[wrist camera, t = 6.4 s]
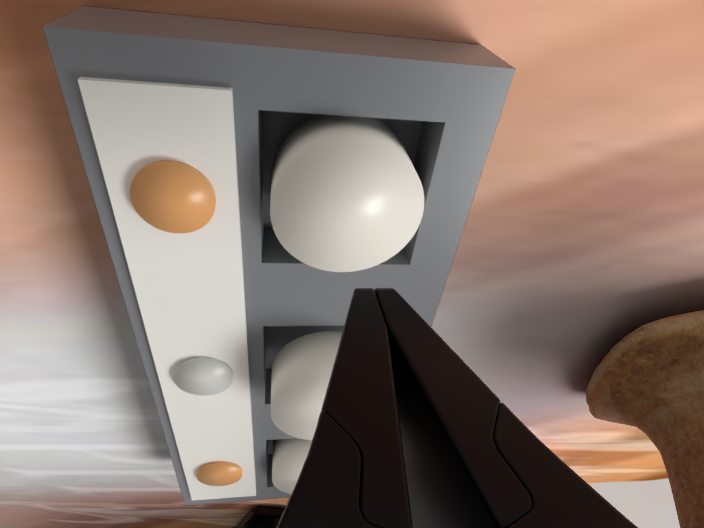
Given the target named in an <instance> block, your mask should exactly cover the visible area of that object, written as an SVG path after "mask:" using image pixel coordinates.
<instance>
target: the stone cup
mask: <svg viewBox="0 0 704 528" xmlns="http://www.w3.org/2000/svg"><path fill="white" fill-rule="evenodd" d="M586 401H587V403H588V405H589V411H590V412H591V414H592V415H593V416H594V417H595V418H597V419H601V420H605V421H609V422H615V423H620V424H626V425H631V426H635V427H637V428H639V429H640V430H642V431H643V432H644V433H646V435H647V436H648V437H649V438H650V440H651V441H652V442H653V443H654V445H655V446H656V447H657V449H658V450H659V451H660V453H661V456H662V459H663V462H664V465H665V468H666V471H667V474H668V478H669V481H670V485H671V489H672V493H673V498H674V502H675V506H676V510H677V515H678V519H679V524H680V527H681V528H704V310H701V311H695V312H690V313H685V314H680V315H675V316H670V317H666V318H663V319H659V320H656V321H653V322H650V323H647V324H644V325H642V326H641V327H639V328H637V329H636V330H634V331H633V332H631V333H629V334H628V335H626V336H625V337H624V338H623V339H622V340H620V341H619V342H618V343H617V344H616V345H614V346H613V348H612V349H611V350H610V351H609V352H608V354H607V355H606V356H605V357H604V358H603V359H602V361H601V362H600V364H599V365H598V366H597V368H596V369H595V371H594V373H593V375H592V377H591V379H590V382H589V384H588V387H587V392H586Z"/></svg>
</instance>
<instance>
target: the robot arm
mask: <svg viewBox="0 0 704 528" xmlns="http://www.w3.org/2000/svg"><path fill="white" fill-rule="evenodd" d="M236 528H638V527H636V526H635V525H634V524H633V523H632V522H630V521H629V520H628V519H627V518H625V516H623V515H622V514H621V513H620V512H619V511H617V510H616V509H615V508H614V507H613V506H612V505H611V504H610V503H609V502H608V501H606V500H605V499H604V498H603V497H602V496H601V495H600V494H598V493H597V492H596V491H595V490H594V489H593V488H592V487H591V486H590V485H588V484H587V483H586V482H585V481H584V480H583V479H582V478H581V477H579V476H578V475H577V474H576V473H575V472H574V471H573V470H572V469H570V468H569V467H568V466H567V465H566V464H565V463H564V462H563V461H562V460H560V459H559V458H558V457H557V456H556V455H555V454H554V453H553V452H552V451H551V450H550V449H549V448H547V447H546V446H545V445H544V444H543V443H542V442H541V441H540V440H539V439H538V438H537V437H536V436H535V435H534V434H533V433H532V432H531V431H530V430H529V429H528V428H527V427H526V426H525V425H524V424H523V423H522V422H521V421H520V420H519V419H518V418H517V417H516V416H515V415H514V414H513V413H512V412H511V411H510V410H509V409H508V408H507V407H506V406H505V404H503V403H500V400H499V398H498V397H497V396H496V395H495V394H494V393H493V392H492V391H491V390H490V389H489V388H488V387H487V386H486V385H485V384H484V383H483V382H482V380H481V379H480V378H479V377H478V376H477V375H476V374H475V373H474V372H473V371H472V370H471V369H470V368H469V367H468V366H467V365H466V364H465V363H464V362H463V360H462V359H461V358H460V357H459V356H458V355H457V354H456V353H455V352H454V351H453V350H452V349H451V348H450V347H449V346H448V345H447V344H446V343H445V342H444V340H443V339H442V338H441V337H440V336H439V335H438V334H437V333H436V332H435V331H434V330H433V329H432V328H431V327H430V326H429V325H428V324H427V323H426V322H425V320H424V319H423V318H422V317H421V316H420V315H419V314H418V313H417V312H416V311H415V310H414V309H413V308H412V307H411V306H410V305H409V304H408V303H407V302H406V300H405V299H404V298H403V297H402V296H401V295H400V294H399V293H398V292H397V291H396V290H395V289H394V288H391V287H377V288H375V289H373V288H371V287H356V288H355V289H354V292H353V295H352V299H351V303H350V306H349V310H348V314H347V317H346V321H345V325H344V328H343V332H342V336H341V339H340V343H339V346H338V350H337V354H336V357H335V361H334V365H333V368H332V372H331V376H330V379H329V383H328V387H327V390H326V394H325V397H324V401H323V405H322V408H321V412H320V415H319V418H318V422H317V426H316V429H315V433H314V436H313V439H312V442H311V445H310V448H309V452H308V455H307V457H306V460H305V462H304V465H303V467H302V470H301V472H300V475H299V477H298V480H297V482H296V485H295V487H294V489H293V492H292V494H291V496H290V498H289V501H288V503H287V505H286V508H285V510H281V509H272V508H262V507H259V508H255V509H253V510H252V511H251V512H250V513H249V514H248V515H247V516H246V517H245V519H244V520H243V521H242V522H241V523H240V524H239V525H238V526H237V527H236Z"/></svg>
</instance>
